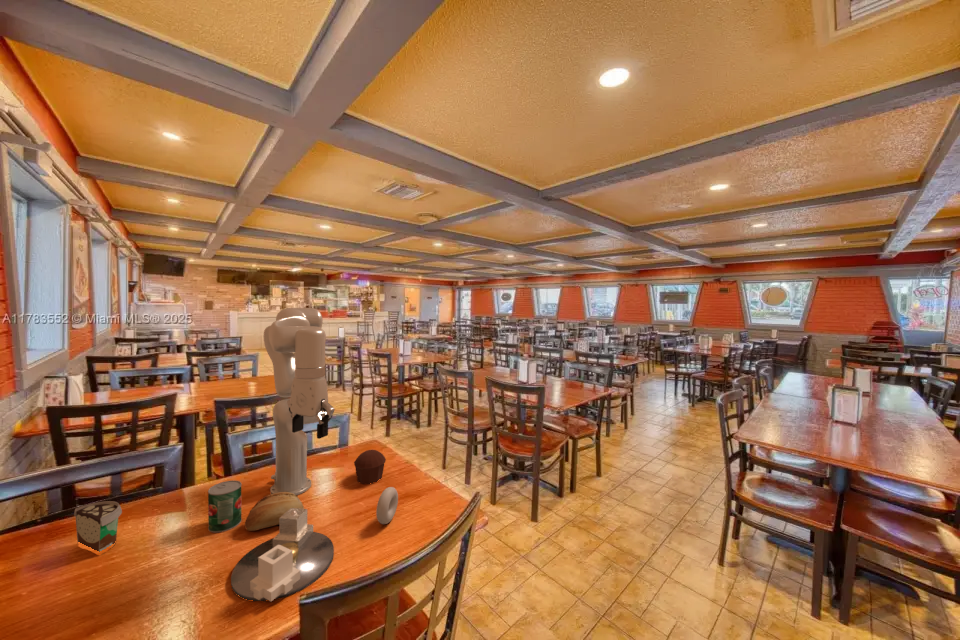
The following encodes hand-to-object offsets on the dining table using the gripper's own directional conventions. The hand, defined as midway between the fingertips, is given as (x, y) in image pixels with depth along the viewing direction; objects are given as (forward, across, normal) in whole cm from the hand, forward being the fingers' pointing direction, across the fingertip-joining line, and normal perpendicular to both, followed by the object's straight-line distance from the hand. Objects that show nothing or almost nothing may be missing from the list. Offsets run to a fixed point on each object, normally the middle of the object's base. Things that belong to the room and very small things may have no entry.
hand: (309, 433), depth 98 cm
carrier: (+28, +5, -11) cm, 31 cm away
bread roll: (+29, -13, -1) cm, 31 cm away
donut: (+28, +16, +14) cm, 36 cm away
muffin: (+29, -7, +32) cm, 43 cm away
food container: (+28, -44, -27) cm, 59 cm away
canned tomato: (+28, -25, -8) cm, 39 cm away
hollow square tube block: (+27, +10, -17) cm, 34 cm away
